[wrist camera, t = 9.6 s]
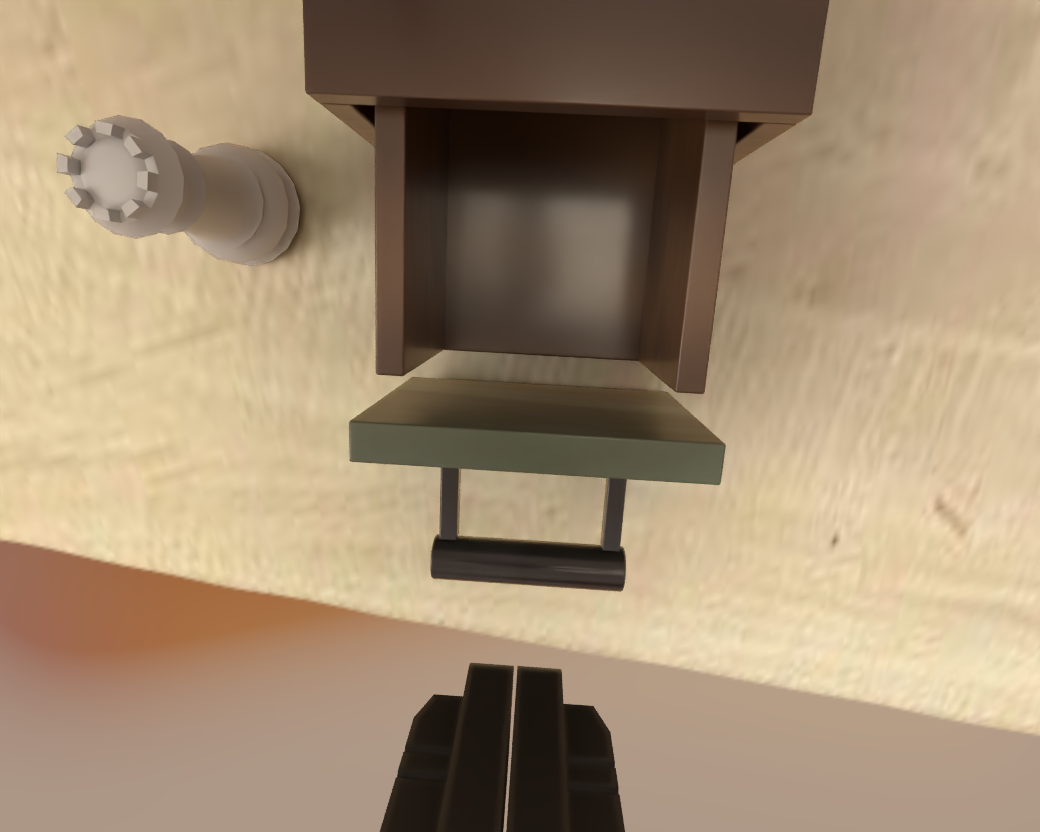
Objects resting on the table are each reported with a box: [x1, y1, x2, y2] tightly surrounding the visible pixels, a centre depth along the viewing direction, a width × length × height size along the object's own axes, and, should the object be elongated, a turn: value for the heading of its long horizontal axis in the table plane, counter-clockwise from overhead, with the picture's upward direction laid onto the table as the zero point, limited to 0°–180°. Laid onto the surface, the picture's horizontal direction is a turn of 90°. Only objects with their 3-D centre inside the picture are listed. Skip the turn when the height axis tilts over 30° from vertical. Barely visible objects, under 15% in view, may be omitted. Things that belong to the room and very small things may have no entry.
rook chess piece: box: [57, 115, 300, 266], centre depth 19 cm, size 4×4×8 cm
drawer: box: [349, 105, 739, 592], centre depth 19 cm, size 18×10×8 cm, turn 177°
